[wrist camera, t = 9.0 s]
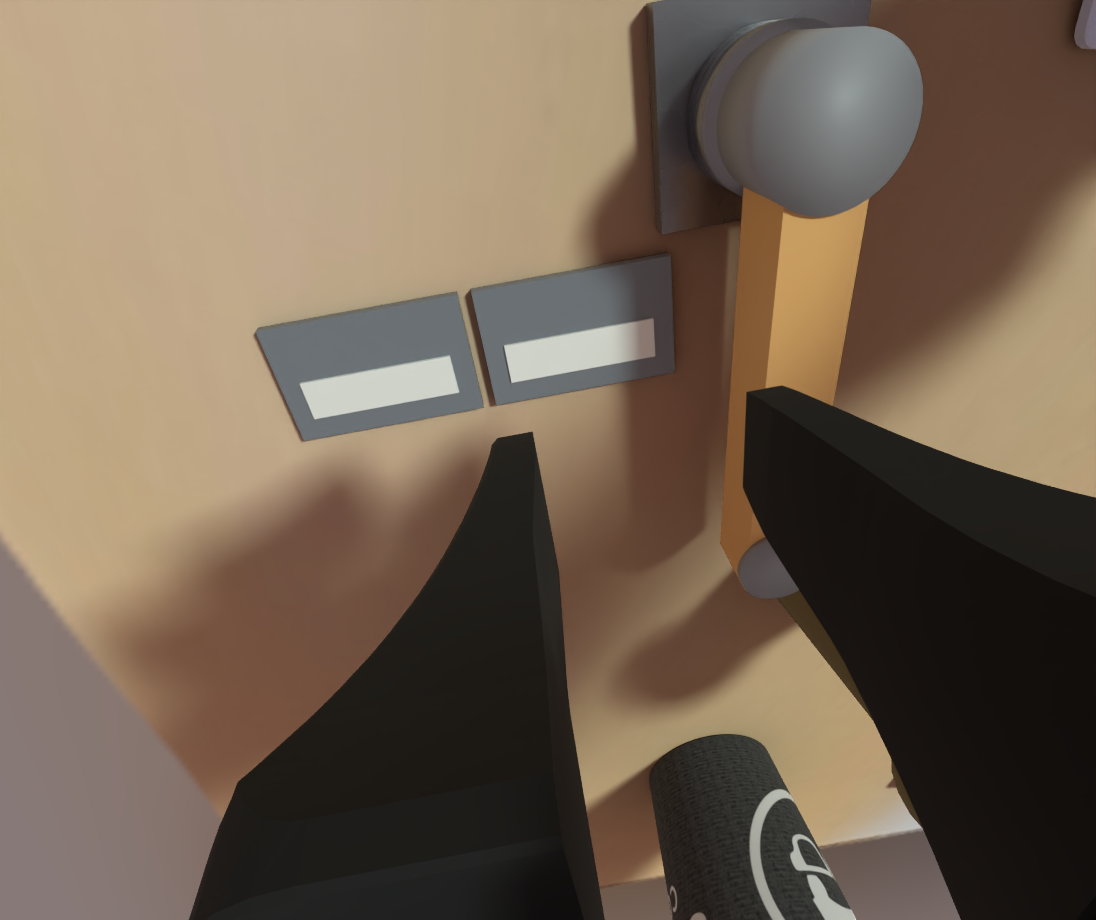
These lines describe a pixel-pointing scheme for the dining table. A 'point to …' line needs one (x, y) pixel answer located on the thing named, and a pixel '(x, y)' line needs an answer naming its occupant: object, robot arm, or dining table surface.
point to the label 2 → (577, 328)
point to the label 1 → (374, 366)
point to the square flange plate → (711, 92)
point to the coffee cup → (737, 838)
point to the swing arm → (803, 226)
